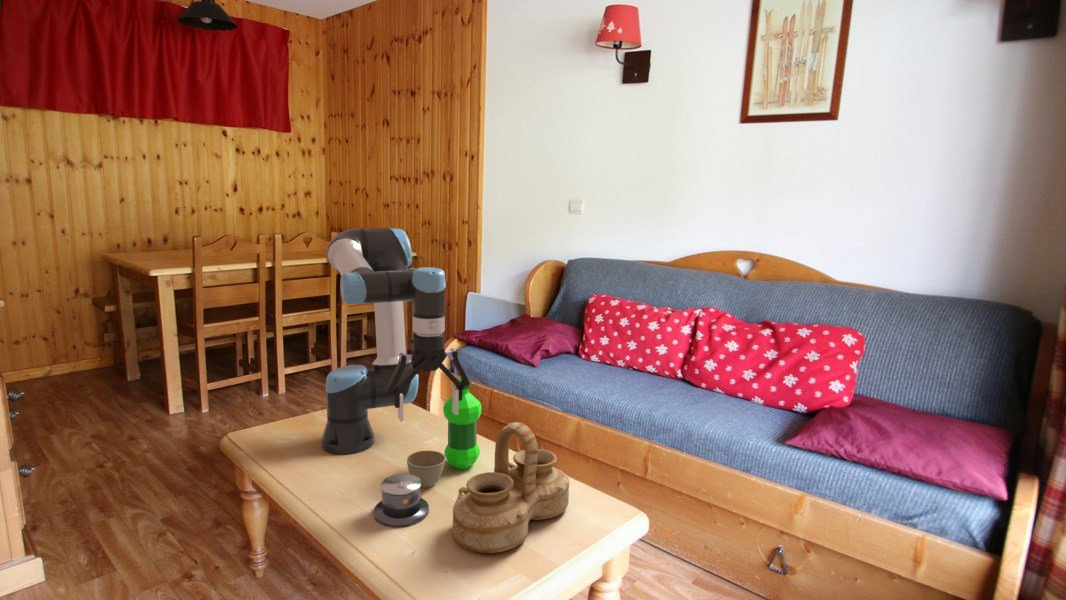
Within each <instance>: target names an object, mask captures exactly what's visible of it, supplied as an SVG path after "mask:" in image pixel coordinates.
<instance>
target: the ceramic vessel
mask: <svg viewBox="0 0 1066 600" xmlns="http://www.w3.org/2000/svg"><path fill="white" fill-rule="evenodd" d="M512 435H516V436H517V437H518V438H519V439H520V440H521V442H522V444H523V445H522V446H523V449H522V450H519V451H517V452H515V453H514V454H513V457H512V459H513V462H514V463H515V464H514V463H511V462H510V461H509V460H510V457H509V455H510V450H509V449H510V440H511V437H512ZM494 446H495V447H494V469H493V472H490V471H489V472H488V471H487V472H483V473H479V474H476V475H474V476H472V477H470V478H469V479H468V481H466V484H465V485H466V487H465V486H462V487H460V488H459V489H458V496H457V498H456V500H455V502H454V505H453V506H452V507H453V508H452V524H451V525H452V526H451V528H452V531H451V532H452V535H453V538H454V540H455V541H456V542H457V543H458V544H459V545H460V546H462V547H463V548H465V550H466V549H467V550H470V551H472V552H476V553H479V554H481V553H483V554H495V553H502V552H503V553H504V552H505V551H508V550H511V549H514V548H516V547H517V546H519V545H521V544H522V543H523V542H524V541H525V540H526V538H527V537H528V533H529V522H530V520H534V521H539V520H547V519H550V518H554V517H557V516H559V515H560V514H562V513H563V512H565V511H566V509H567V508H568V504H569V499H570V494H569V493H570V492H569V491H570V478H569V477H568V475H567V474H566V473H564V472H563V471H562V470H561V469H559V468H557V467H554V466H555V465H556V464H557V461H558V456H557V455H556V454H555V453H554V452H552V451H550V450H546V449H541V448H539V447H538V442H537V437H536V435H535V434H534V432H533V431H532V430H531V428H529V427H528V426H527V425H526V424H525V423H522V422H518V421H513V422H510V423H508V424H507V425H506V426H504V427H503V428H502V429H501V430H500V432H499V433H498V435H497V437H496V439H495V445H494Z"/></svg>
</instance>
